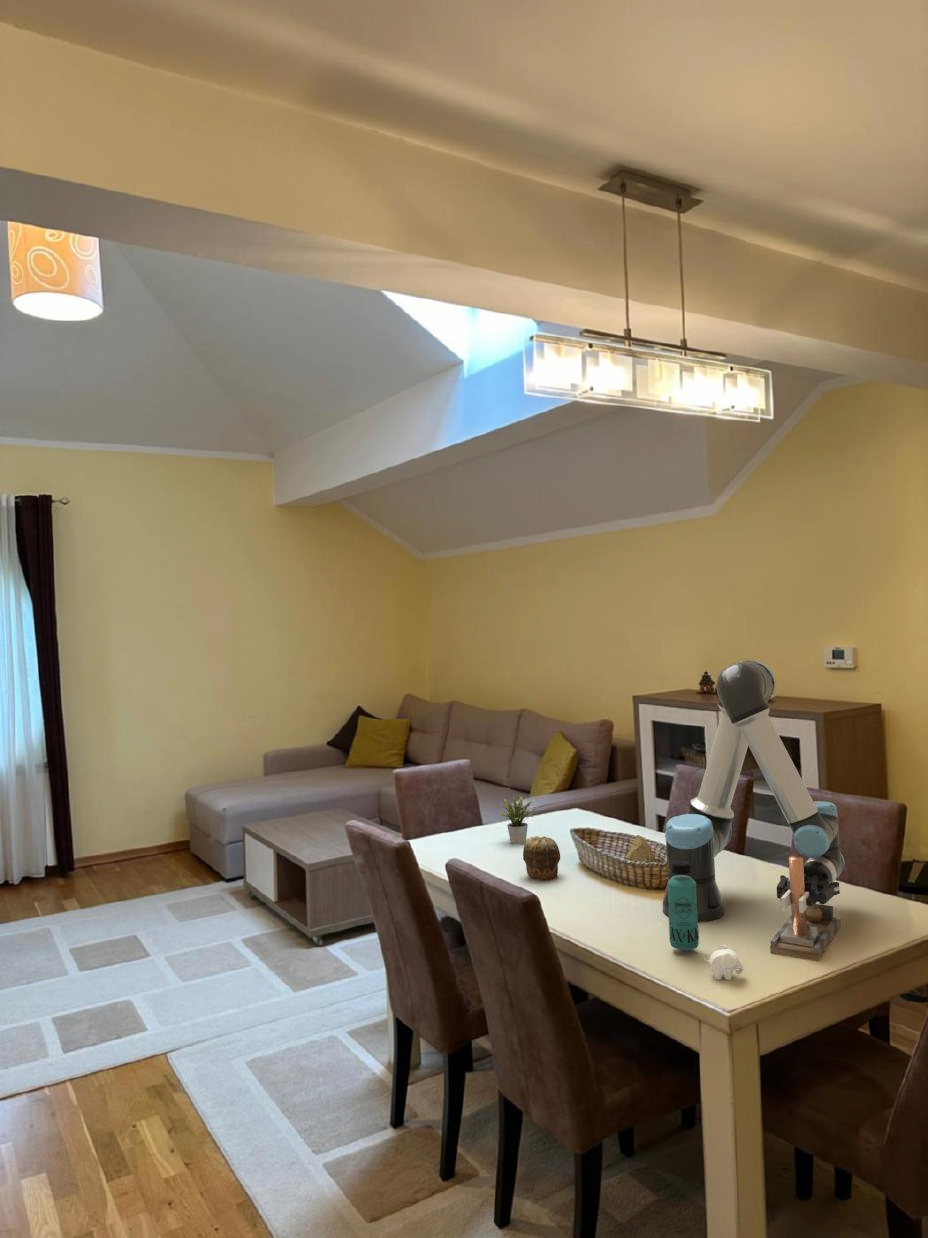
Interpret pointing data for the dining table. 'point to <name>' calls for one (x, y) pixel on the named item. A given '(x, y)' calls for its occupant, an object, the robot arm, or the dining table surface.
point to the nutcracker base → (826, 927)
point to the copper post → (798, 926)
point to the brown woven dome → (541, 858)
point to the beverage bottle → (682, 908)
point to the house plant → (517, 821)
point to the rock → (640, 850)
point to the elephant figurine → (724, 963)
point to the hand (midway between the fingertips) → (791, 905)
